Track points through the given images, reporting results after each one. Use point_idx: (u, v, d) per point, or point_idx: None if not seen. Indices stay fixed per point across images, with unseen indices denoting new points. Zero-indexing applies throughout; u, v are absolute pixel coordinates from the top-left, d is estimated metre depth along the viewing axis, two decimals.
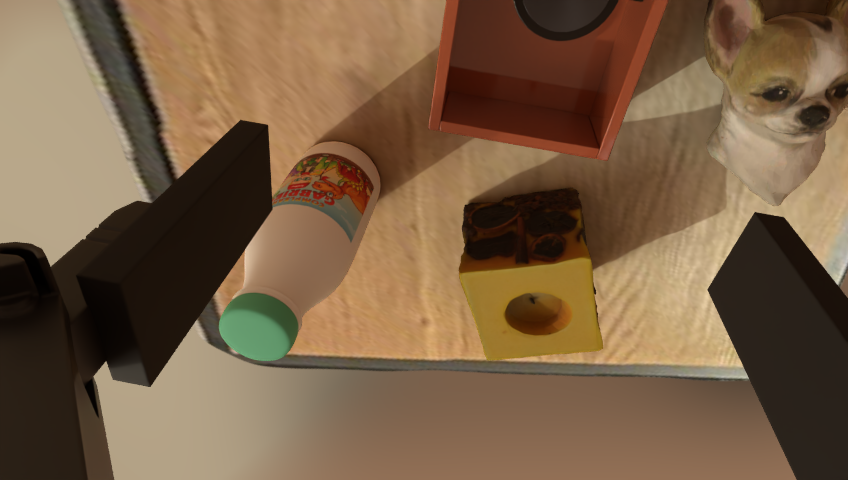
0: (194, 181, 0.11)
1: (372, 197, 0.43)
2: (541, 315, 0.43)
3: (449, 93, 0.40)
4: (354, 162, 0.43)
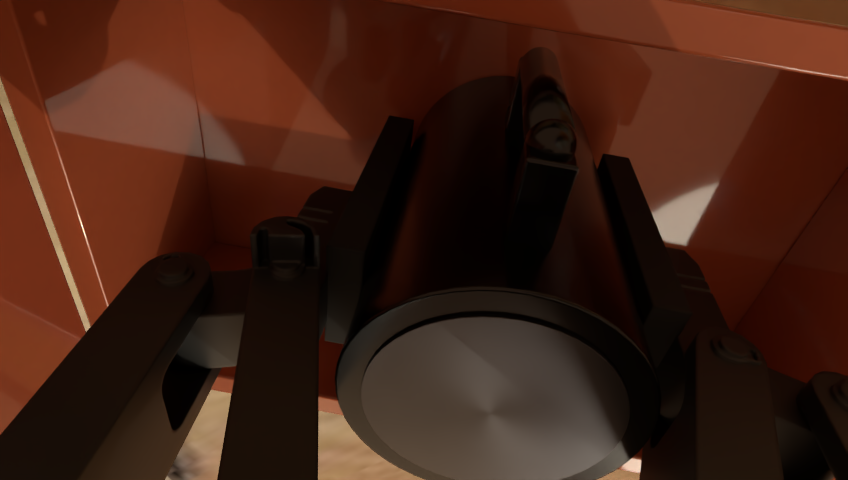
0: (379, 168, 0.13)
1: None
2: None
3: None
4: None
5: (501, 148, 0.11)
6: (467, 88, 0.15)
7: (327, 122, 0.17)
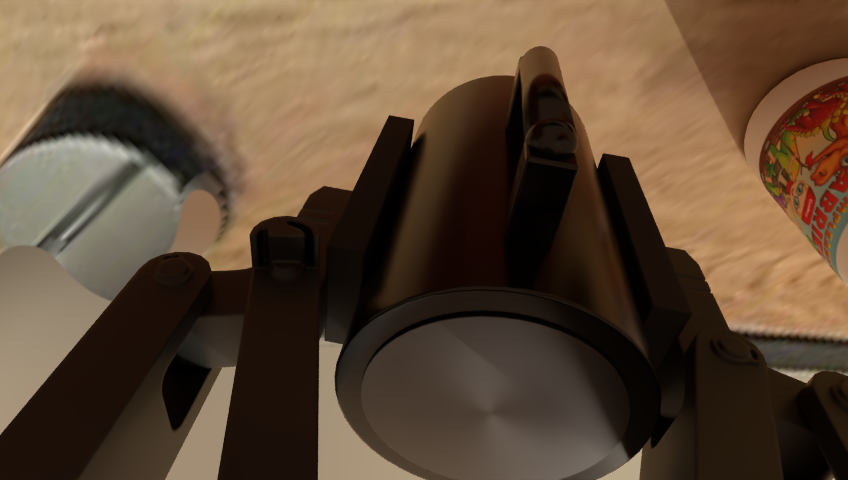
0: (379, 168, 0.13)
1: None
2: None
3: None
4: (796, 100, 0.26)
5: (501, 148, 0.11)
6: (467, 88, 0.15)
7: None
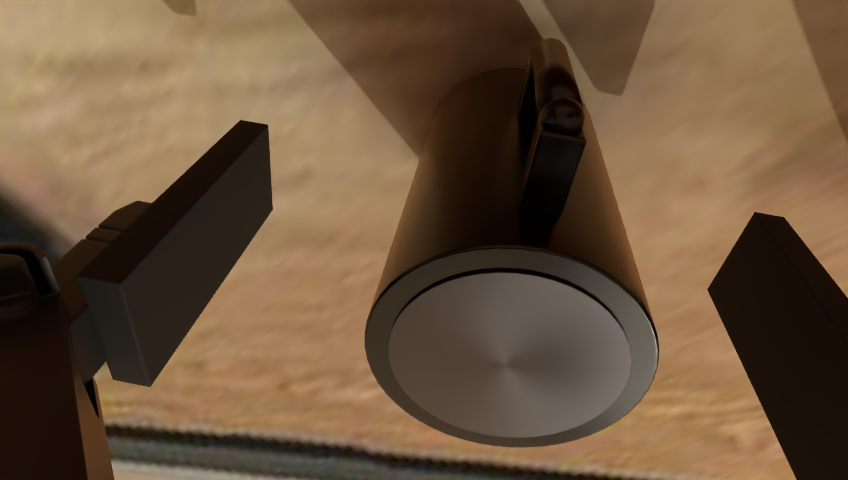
0: (194, 181, 0.11)
1: None
2: None
3: None
4: None
5: (513, 131, 0.12)
6: (481, 79, 0.16)
7: None
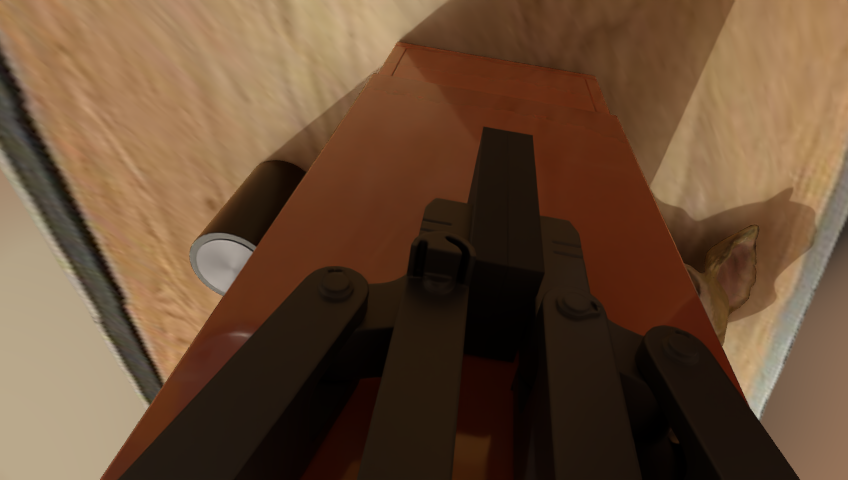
0: (492, 180, 0.13)
1: None
2: None
3: None
4: None
5: None
6: None
7: None
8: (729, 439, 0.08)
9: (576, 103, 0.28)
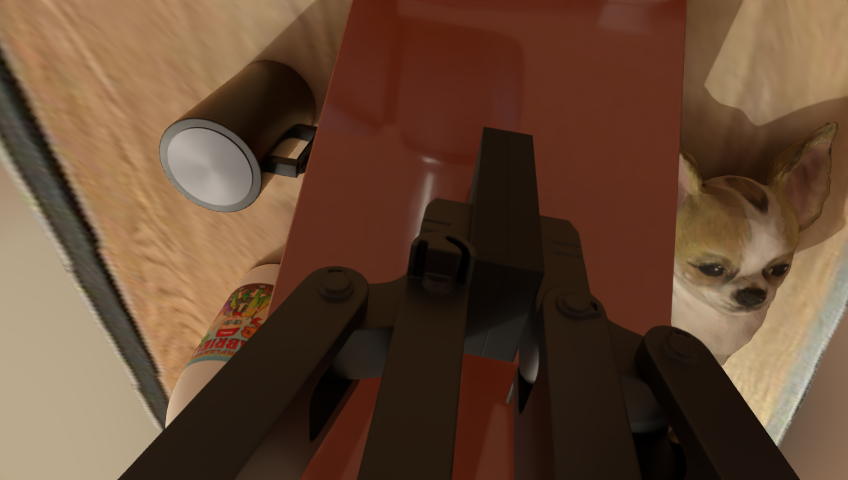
0: (492, 180, 0.13)
1: None
2: None
3: None
4: None
5: (290, 132, 0.31)
6: (307, 91, 0.34)
7: None
8: (729, 439, 0.08)
9: None
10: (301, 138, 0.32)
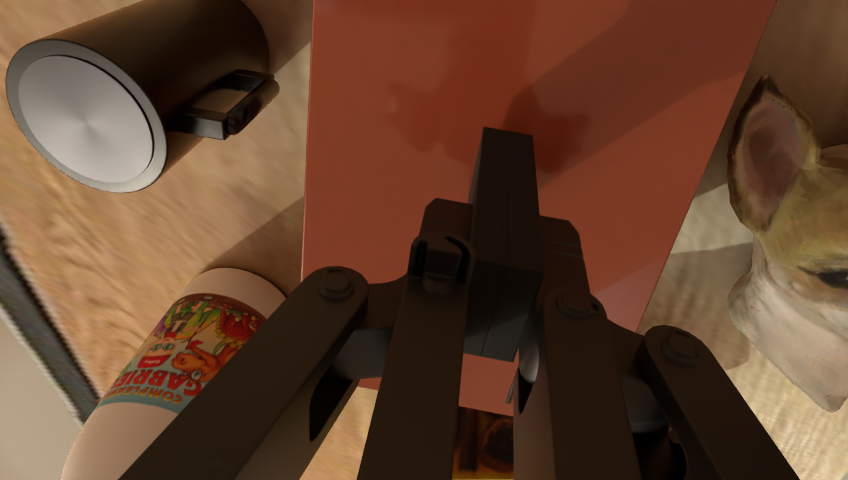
0: (492, 181, 0.13)
1: None
2: None
3: None
4: (248, 304, 0.32)
5: (223, 78, 0.21)
6: (254, 27, 0.24)
7: None
8: (729, 439, 0.08)
9: None
10: (242, 89, 0.22)
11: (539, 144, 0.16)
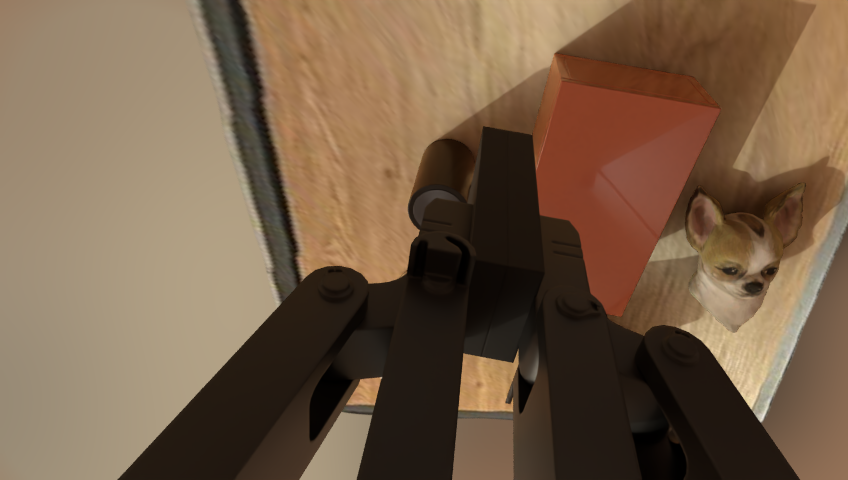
0: (492, 180, 0.13)
1: None
2: None
3: None
4: None
5: None
6: (472, 158, 0.53)
7: None
8: (729, 439, 0.08)
9: (691, 94, 0.42)
10: None
11: (608, 214, 0.47)
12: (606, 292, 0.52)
